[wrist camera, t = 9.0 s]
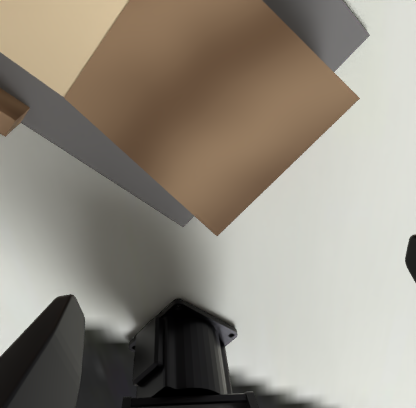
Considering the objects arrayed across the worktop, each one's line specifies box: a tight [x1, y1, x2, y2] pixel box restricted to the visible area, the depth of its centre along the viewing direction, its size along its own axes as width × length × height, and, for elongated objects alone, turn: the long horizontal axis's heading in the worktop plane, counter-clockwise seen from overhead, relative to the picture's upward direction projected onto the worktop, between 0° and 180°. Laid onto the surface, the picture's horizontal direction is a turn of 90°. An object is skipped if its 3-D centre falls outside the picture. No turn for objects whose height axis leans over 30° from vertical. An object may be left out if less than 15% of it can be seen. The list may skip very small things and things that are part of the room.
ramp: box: [64, 0, 360, 236], centre depth 16 cm, size 10×9×5 cm
